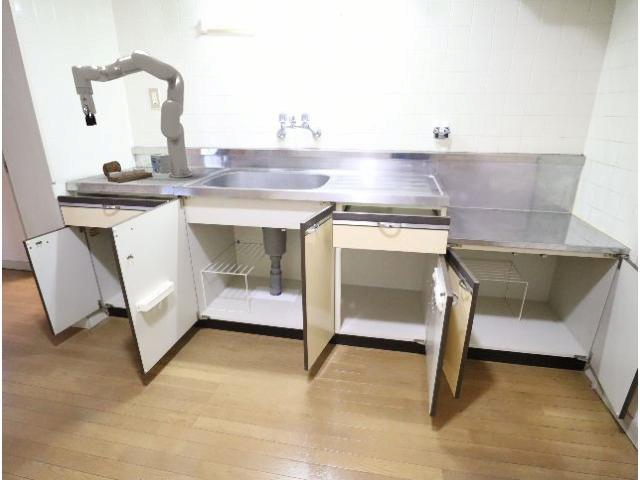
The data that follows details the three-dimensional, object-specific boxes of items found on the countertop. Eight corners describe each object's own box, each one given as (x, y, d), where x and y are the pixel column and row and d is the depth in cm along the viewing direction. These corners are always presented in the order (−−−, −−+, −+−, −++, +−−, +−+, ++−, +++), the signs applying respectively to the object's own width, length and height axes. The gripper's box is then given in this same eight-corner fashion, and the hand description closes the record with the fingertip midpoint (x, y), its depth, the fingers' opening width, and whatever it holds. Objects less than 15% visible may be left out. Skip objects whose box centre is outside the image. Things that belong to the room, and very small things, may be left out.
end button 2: (145, 173, 212) (144, 168, 211) (138, 175, 208) (137, 169, 207) (140, 173, 214) (139, 168, 213) (133, 174, 210) (132, 169, 209)
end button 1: (122, 177, 200) (121, 172, 199) (114, 179, 197) (113, 173, 196) (117, 177, 203) (116, 171, 201) (110, 178, 199) (108, 172, 198)
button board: (152, 177, 210) (151, 172, 209) (119, 183, 194) (118, 178, 193) (140, 175, 216) (140, 170, 215) (107, 181, 200) (106, 176, 199)
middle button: (134, 175, 206) (133, 170, 205) (126, 177, 202) (125, 171, 201) (129, 175, 208) (128, 169, 207) (122, 176, 205) (121, 171, 204)
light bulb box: (152, 171, 227) (149, 154, 223) (162, 170, 232) (159, 153, 229) (162, 173, 222) (160, 155, 218) (172, 171, 227) (169, 154, 223)
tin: (108, 178, 207) (105, 163, 204) (103, 178, 207) (100, 163, 204) (122, 173, 221) (120, 159, 218) (117, 173, 221) (114, 159, 218)
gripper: (89, 91, 185) (97, 126, 191) (95, 92, 200) (102, 124, 206) (72, 91, 182) (80, 126, 188) (80, 92, 197) (87, 124, 203)
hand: (91, 125), depth 197 cm, fingers open, 9 cm apart
